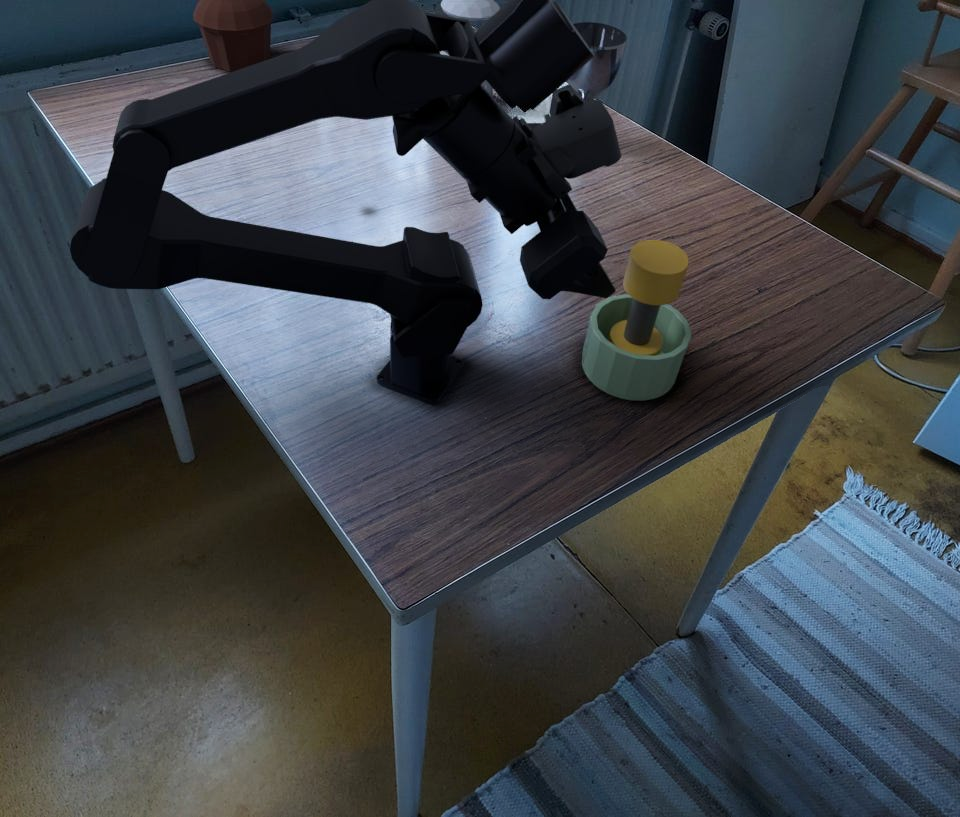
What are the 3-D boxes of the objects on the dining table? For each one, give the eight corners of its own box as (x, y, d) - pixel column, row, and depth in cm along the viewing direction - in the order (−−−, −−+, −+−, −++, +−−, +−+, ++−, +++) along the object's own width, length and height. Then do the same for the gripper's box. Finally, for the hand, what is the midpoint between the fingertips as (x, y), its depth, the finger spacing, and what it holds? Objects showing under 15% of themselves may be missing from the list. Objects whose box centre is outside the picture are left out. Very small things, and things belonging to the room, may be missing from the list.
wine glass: (539, 147, 109) (554, 36, 98) (562, 125, 114) (579, 17, 103) (592, 164, 107) (613, 52, 96) (613, 140, 112) (635, 32, 101)
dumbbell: (605, 379, 77) (634, 271, 68) (601, 343, 81) (627, 237, 71) (658, 382, 77) (693, 276, 68) (651, 347, 81) (684, 241, 71)
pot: (662, 413, 75) (676, 372, 71) (568, 380, 77) (577, 338, 73) (686, 354, 81) (700, 312, 77) (598, 324, 84) (608, 283, 80)
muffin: (212, 80, 116) (199, 9, 109) (192, 51, 122) (179, -19, 115) (289, 69, 120) (282, -1, 113) (266, 41, 127) (258, -27, 120)
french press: (431, 86, 120) (436, -103, 102) (507, 91, 121) (525, -96, 103) (431, 117, 113) (437, -80, 95) (511, 121, 114) (532, -74, 96)
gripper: (604, 133, 50) (713, 269, 60) (540, 24, 63) (639, 150, 73) (475, 240, 55) (596, 351, 65) (439, 117, 67) (545, 225, 77)
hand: (596, 262), depth 70 cm, fingers open, 9 cm apart
